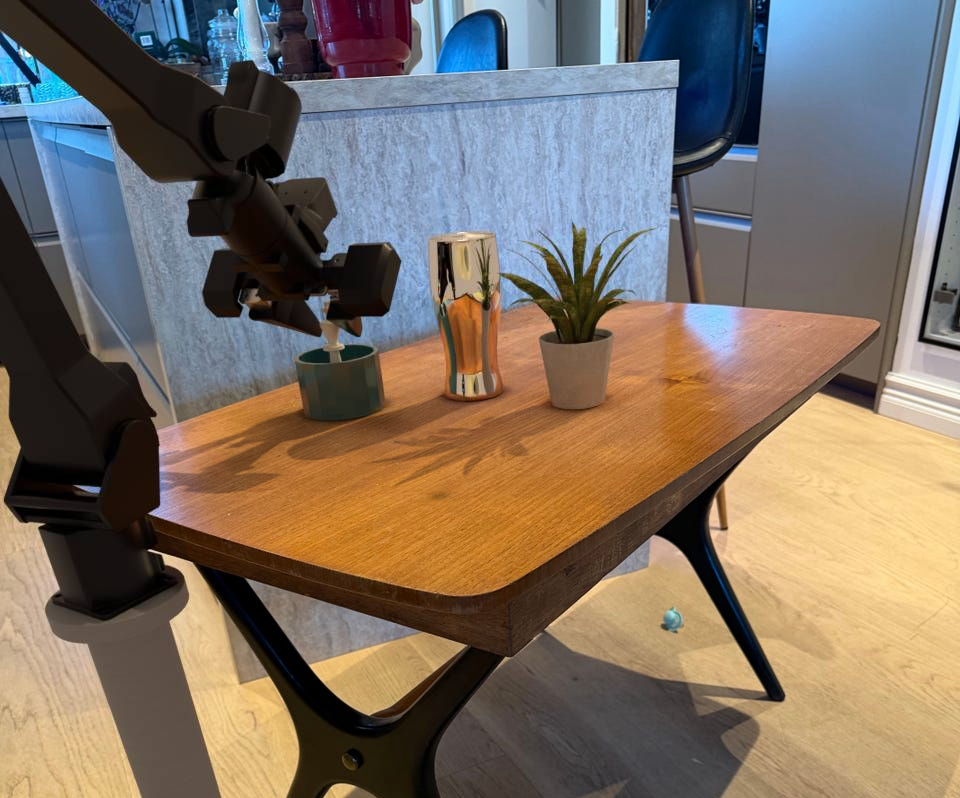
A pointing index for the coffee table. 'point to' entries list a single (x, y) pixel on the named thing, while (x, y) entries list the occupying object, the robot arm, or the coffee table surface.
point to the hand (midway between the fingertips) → (340, 332)
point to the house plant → (575, 322)
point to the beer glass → (467, 311)
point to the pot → (340, 383)
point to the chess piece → (331, 336)
